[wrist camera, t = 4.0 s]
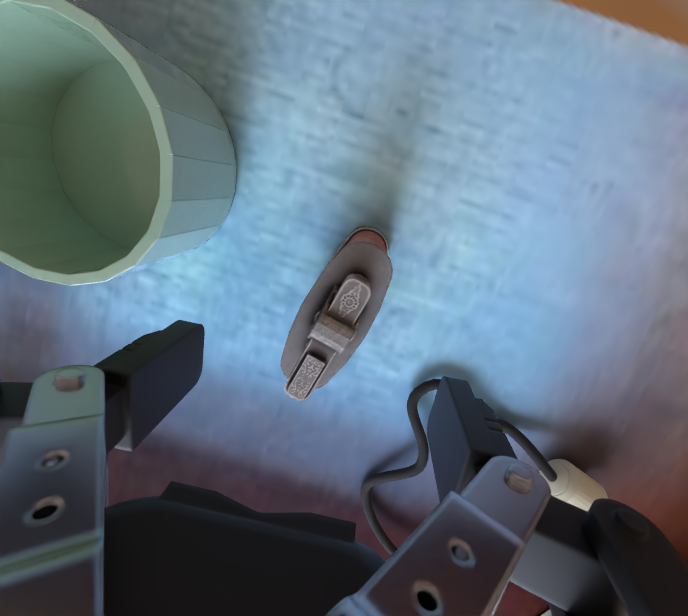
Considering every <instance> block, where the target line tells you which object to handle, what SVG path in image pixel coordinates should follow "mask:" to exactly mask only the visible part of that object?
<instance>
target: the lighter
mask: <svg viewBox="0 0 688 616" xmlns="http://www.w3.org/2000/svg"><path fill="white" fill-rule="evenodd" d="M388 249H389V248H388V243H387V239H386V238H385V236H384V235H383V233H381V232H380V231H379V230H378V229H375V228H373V227H367V226H363V227H360V228H357V229H356V230H354V231H353V232H352V233H351V234H350V236H349V237H348V238H347V239H346V240H345V242H344V243H343V244H342V245H341V246H340V248H339V249H338V250H337V251H336V253H335V254H334V256H333V258H332V259H331V261H330V262H329V264H328V265H327V266H326V268H325V269H324V271H323V272H322V273H321V275H320V276H319V278H318V280H317V281H316V283H315V284H314V286H313V287H312V289H311V290H310V292H309V293H308V295H307V297H306V298H305V300H304V301H303V303H302V305H301V307H300V309H299V311H298V313H297V316H296V318H295V320H294V322H293V325H292V327H291V329H290V331H289V334H288V338H287V341H286V344H285V348H284V351H283V354H282V358H281V368H282V371H283V374H284V375H285V376H286V377H287V379H288V381H287V383H286V385H285V392H286V393H287V394H288V395H289V396H291V397H292V398H294V399H297V400H299V401H304V400H306V399H308V397H309V396H310V395H311V393H312V392H313V390H314V389H316V388H320V387H322V386H323V385H325V384H326V383H327V382H328V381H329V380H330V379H331V378H332V377H333V376H334V375H335V374H336V373H337V372H338V371H339V370H340V369H341V368H342V367H343V366H344V365H345V364H346V363H347V361H348V360H349V358H350V357H351V356H352V354H353V353H354V352H355V350H356V349H357V348H358V346H359V345H360V344H361V342H362V341H363V340H364V338H365V336H366V334H367V333H368V331H369V329H370V327H371V325H372V323H373V321H374V319H375V318H376V316H377V314H378V312H379V310H380V307H381V305H382V302H383V300H384V297H385V294H386V292H387V289H388V287H389V284H390V281H391V278H392V271H393V270H392V265H391V261H390V258H389V256H388Z"/></svg>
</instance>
